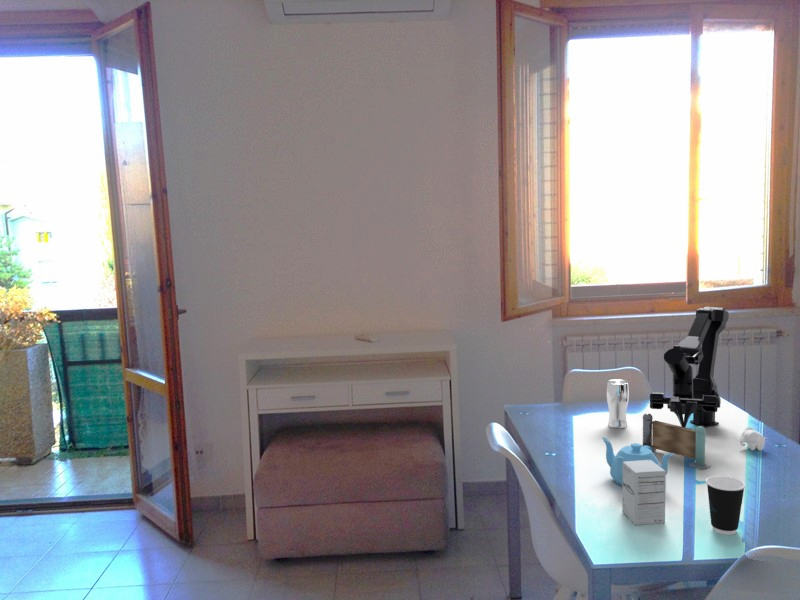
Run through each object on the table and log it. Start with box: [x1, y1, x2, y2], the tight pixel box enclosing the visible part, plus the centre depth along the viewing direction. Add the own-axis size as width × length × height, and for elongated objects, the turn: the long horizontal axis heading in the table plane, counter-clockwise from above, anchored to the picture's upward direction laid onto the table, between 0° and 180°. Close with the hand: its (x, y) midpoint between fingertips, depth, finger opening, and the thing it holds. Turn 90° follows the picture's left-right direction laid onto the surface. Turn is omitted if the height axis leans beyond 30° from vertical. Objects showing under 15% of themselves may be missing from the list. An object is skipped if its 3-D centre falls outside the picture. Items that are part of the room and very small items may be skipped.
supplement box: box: [621, 460, 667, 526], centre depth 158 cm, size 7×7×13 cm
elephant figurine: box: [738, 426, 769, 452], centre depth 202 cm, size 7×8×6 cm
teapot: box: [601, 437, 675, 486], centre depth 179 cm, size 15×15×10 cm
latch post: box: [688, 425, 712, 471], centre depth 189 cm, size 4×4×11 cm
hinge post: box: [641, 412, 657, 452], centre depth 204 cm, size 5×5×11 cm
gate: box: [652, 420, 696, 460], centre depth 196 cm, size 16×2×9 cm, turn 38°
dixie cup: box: [705, 475, 746, 536], centre depth 151 cm, size 8×8×11 cm
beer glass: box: [606, 379, 630, 430], centre depth 227 cm, size 7×7×15 cm
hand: (683, 427), depth 200 cm, fingers closed
